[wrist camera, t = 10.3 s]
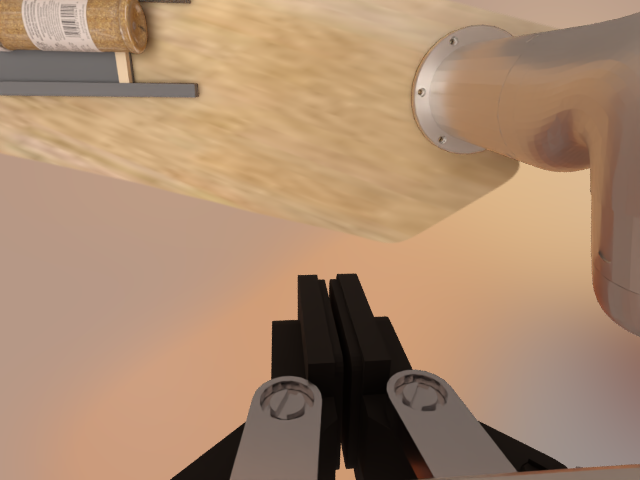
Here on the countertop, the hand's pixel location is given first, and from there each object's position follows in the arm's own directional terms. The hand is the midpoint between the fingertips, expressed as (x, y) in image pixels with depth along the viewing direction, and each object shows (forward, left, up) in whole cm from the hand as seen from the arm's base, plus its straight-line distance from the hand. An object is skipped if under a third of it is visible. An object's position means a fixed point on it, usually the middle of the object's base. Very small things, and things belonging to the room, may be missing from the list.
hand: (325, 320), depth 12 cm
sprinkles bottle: (+13, -10, -31) cm, 35 cm away
